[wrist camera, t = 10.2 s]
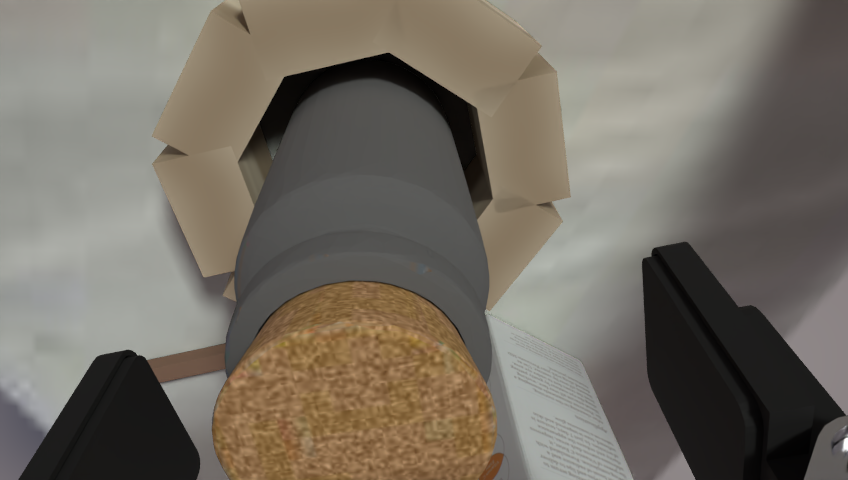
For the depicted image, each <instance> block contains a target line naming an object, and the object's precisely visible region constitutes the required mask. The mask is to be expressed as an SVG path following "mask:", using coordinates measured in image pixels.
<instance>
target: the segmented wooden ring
mask: <svg viewBox="0 0 848 480" xmlns="http://www.w3.org/2000/svg"><path fill="white" fill-rule="evenodd" d="M541 47H542V46H541V45H540V44H539V43H538V42H537V41H536V40H535V39H534V38H533V37H532V36H531V35H530V34H529V33H527V32H526V31H525V30H524V29H523V28H522V27H521V26H520V25H519V24H518V23H517V22H516V21H515V20H513V19H512V18H510V17H509V16H507V15H506V14H505V13H503V12H502V11H500V10H499V9H497V8H496V7H495V6H493V5H492V4H490V3H489V2H487V1H486V0H225V1H224V2H223V3H221V4H220V5H218V6H217V7H216V8H214V9H213V10H212V11H211V12H210V14H209V16H208V18H207V20H206V22H205V24H204V26H203V29H202V31H201V33H200V35H199V37H198V39H197V41H196V43H195V45H194V48H193V50H192V52H191V54H190V56H189V58H188V60H187V62H186V65H185V67H184V69H183V71H182V73H181V75H180V77H179V79H178V81H177V84H176V86H175V88H174V90H173V92H172V94H171V96H170V98H169V100H168V103H167V105H166V107H165V109H164V111H163V113H162V115H161V117H160V120H159V122H158V124H157V126H156V128H155V130H154V132H153V134H152V137H154V138H156V139H158V140H160V141H162V142H164V143H166V144H168V145H167V147H166V148H165V149H164V150H163V151H162V153H161V154H160V155H159V156H158V158H157V159H156V160H155V161H154V162H153V164H152V165H153V167H154V169H155V171H156V174H157V176H158V178H159V180H160V182H161V185H162V187H163V189H164V191H165V193H166V196H167V198H168V200H169V202H170V204H171V207H172V209H173V211H174V213H175V215H176V218H177V220H178V222H179V224H180V226H181V229H182V231H183V233H184V235H185V237H186V240H187V242H188V244H189V246H190V248H191V251H192V253H193V255H194V257H195V259H196V262H197V264H198V266H199V268H200V270H201V273H202V275H203V277H209V276H214V275H218V274H223V273H227V272H231V275H230V277H229V280H228V283H227V285H226V288H225V291H224V293H223V296H225V297H227V298H229V299H231V300H233V301H236V295H235V289H234V273H235V265H236V258H237V255H238V252H239V248H240V245H241V242H242V239H243V236H244V233H245V231H246V228H247V225H248V222H249V220H250V217H251V214H252V211H253V209H254V206H255V203H256V201H257V199H258V196H259V194H260V191H261V189H262V186H263V184H264V182H265V179H266V177H267V174H268V172H269V169H270V167H271V165H272V162H273V161H272V158H271V155H270V152H269V149H268V146H267V144H266V141H265V138H264V135H263V132H262V129H261V127H260V124H259V122H260V120H261V118H262V116H263V115H264V113H265V111H266V109H267V107H268V105H269V104H270V102H271V100H272V98H273V96H274V94H275V93H276V91H277V89H278V87H279V85H280V83H281V82H282V80H283V78H284V77H285V76H289V75H293V74H298V73H302V72H306V71H310V70H315V69H319V68H323V67H328V66H332V65H336V64H340V63H345V62H349V61H353V60H358V59H362V58H366V57H371V56H375V55H379V54H383V53H388V52H389V53H391V54H393V55H394V56H396V57H397V58H399V59H401V60H402V61H404V62H405V63H407V64H408V65H410V66H412V67H413V68H415V69H416V70H418V71H419V72H421V73H423V74H424V75H426V76H427V77H429V78H430V79H432V80H434V81H435V82H437V83H438V84H440V85H442V86H443V87H445V88H446V89H448V90H449V91H451V92H453V93H454V94H456V95H457V96H459V97H460V98H462V99H464V100H465V101H467V107H468V112H469V117H470V123H471V128H472V134H473V139H474V145H475V150H476V156H475V157H474V158H473V160H472V161H471V163H470V164H469V165H468V167H467V168H466V170H465V171H464V176H465V179H466V183H467V186H468V190H469V193H470V197H471V200H472V204H473V207H474V211H475V214H476V218H477V221H478V225H479V228H480V232H481V236H482V240H483V244H484V248H485V252H486V256H487V260H488V269H489V294H488V300H487V305H486V309H487V310H489V311H490V310H491V309H492V308H493V306H494V305H495V304H496V303H497V302H498V300H499V299H500V298H501V297H502V295H503V294H504V293H505V292H506V291H507V289H508V288H509V287H510V286H511V284H512V283H513V282H514V281H515V279H516V278H517V277H518V276H519V275H520V273H521V272H522V271H523V270H524V268H525V267H526V266H527V265H528V264H529V262H530V261H531V260H532V259H533V257H534V256H535V255H536V254H537V253H538V251H539V250H540V249H541V248H542V246H543V245H544V244H545V243H546V242H547V240H548V239H549V238H550V237H551V235H552V234H553V233H554V232H555V231H556V229H557V228H558V227H559V226H560V224H561V223H562V222H563V221H562V219H561V217H560V216H559V214H558V212H557V210H556V208H555V207H554V205H553V203H552V201H555V200H560V199H564V198H569V197H571V196H570V187H569V178H568V169H567V160H566V151H565V142H564V133H563V124H562V115H561V106H560V97H559V88H558V79H557V71H556V70H555V69H554V68H553V67H552V66H551V65H550V64H549V63H548V62H547V61H546V60H545V59H544V58H543V57H542V56H541V55H540V54H539V53H538V51H539V49H540V48H541ZM236 302H237V301H236Z"/></svg>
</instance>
